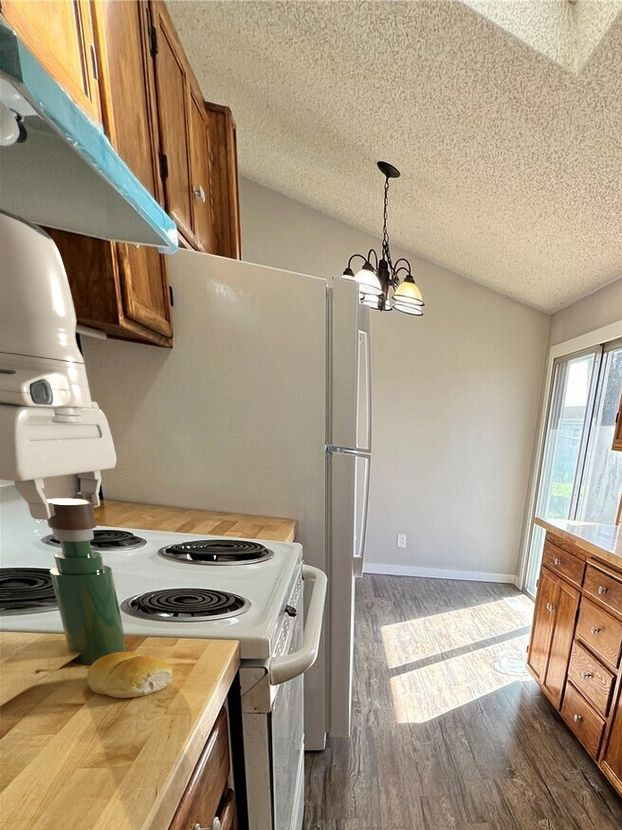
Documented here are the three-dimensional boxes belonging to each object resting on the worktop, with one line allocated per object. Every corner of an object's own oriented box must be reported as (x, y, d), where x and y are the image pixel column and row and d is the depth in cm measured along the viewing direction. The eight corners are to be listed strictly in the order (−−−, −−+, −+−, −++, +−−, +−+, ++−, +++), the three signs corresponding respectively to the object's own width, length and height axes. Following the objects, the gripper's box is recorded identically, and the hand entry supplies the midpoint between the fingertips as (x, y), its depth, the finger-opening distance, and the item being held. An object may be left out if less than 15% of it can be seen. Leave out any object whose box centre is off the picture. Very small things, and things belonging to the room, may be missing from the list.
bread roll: (131, 666, 74) (126, 638, 73) (185, 680, 72) (181, 652, 71) (70, 689, 67) (62, 659, 65) (128, 706, 65) (121, 675, 63)
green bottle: (59, 663, 73) (26, 528, 66) (87, 645, 79) (59, 519, 72) (112, 665, 74) (85, 533, 67) (136, 648, 80) (113, 524, 73)
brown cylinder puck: (39, 527, 67) (33, 502, 66) (63, 521, 71) (58, 497, 70) (83, 531, 67) (77, 506, 66) (104, 524, 72) (100, 500, 71)
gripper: (66, 388, 72) (88, 499, 77) (-63, 377, 53) (-21, 523, 59) (119, 394, 73) (137, 503, 78) (11, 385, 54) (45, 528, 60)
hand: (68, 512), depth 69 cm, fingers open, 8 cm apart
